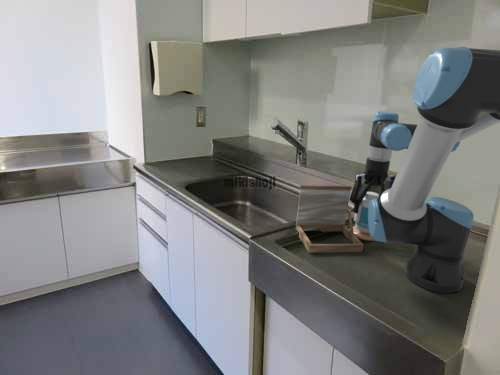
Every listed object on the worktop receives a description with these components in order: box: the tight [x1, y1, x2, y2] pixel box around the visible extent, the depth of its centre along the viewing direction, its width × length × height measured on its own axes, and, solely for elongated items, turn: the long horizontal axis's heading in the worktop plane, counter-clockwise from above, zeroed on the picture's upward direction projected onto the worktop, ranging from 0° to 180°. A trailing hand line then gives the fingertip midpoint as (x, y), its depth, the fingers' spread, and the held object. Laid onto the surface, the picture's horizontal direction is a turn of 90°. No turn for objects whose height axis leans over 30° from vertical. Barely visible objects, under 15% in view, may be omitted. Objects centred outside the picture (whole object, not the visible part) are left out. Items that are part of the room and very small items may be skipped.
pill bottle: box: [354, 191, 380, 233], centre depth 129 cm, size 8×7×14 cm
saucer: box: [348, 225, 376, 242], centre depth 131 cm, size 11×11×1 cm
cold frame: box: [295, 184, 365, 254], centre depth 121 cm, size 16×19×17 cm
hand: (367, 221), depth 130 cm, fingers closed on pill bottle, 7 cm apart
